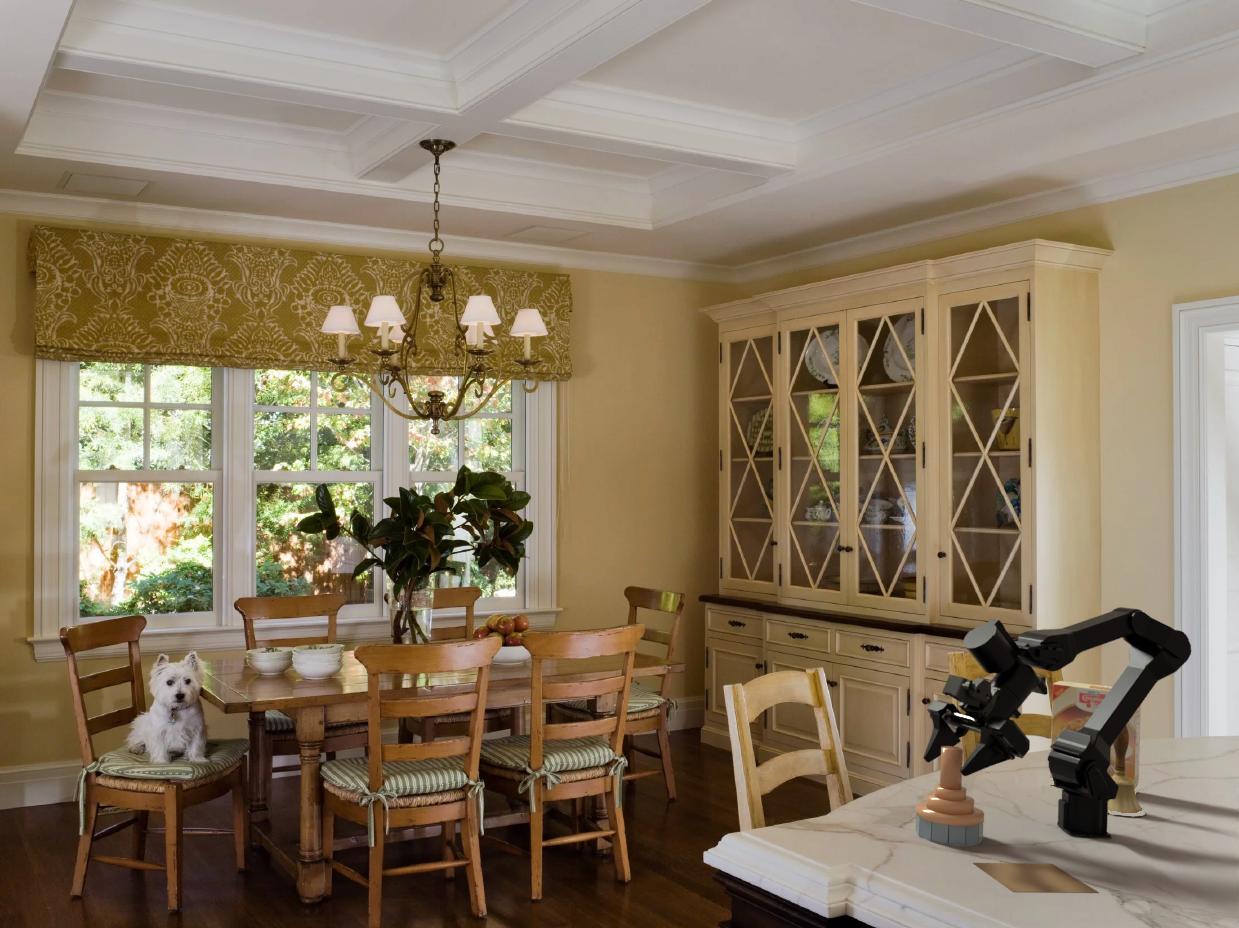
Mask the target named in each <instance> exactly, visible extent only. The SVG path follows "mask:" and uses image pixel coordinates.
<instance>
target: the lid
mask: <svg viewBox="0 0 1239 928" xmlns="http://www.w3.org/2000/svg"><path fill="white" fill-rule="evenodd" d="M963 752H964V749H963V748H961V747H957V746H942V747H941V755H940V771H939V772H940V775H939V776H940V778H939V783H937V784H935V785H934V791H931V792H928V793H927V794H926V801H925V800H924V801H920V802H918V803H917V804H916V806H915V807H916V808H915V814H916V815H917V816H918V817H920V818H922V819H924V820H927V821H930V822H934V823H938V824H944V825H951V826H977V825H981V824H983V825H984V823H985V812H984V811H983V810H982V809H980V808H977V807H975V799H974V798H973V797H972V796H969V795H967V788H966V787H964V786H963V782H962V781H963V775H962V774H961V772H960V770H961V769H962V767H963V758H964V757H963V754H964V753H963ZM916 815H915V816H916Z"/></svg>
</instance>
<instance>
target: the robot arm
mask: <svg viewBox="0 0 1239 928" xmlns="http://www.w3.org/2000/svg"><path fill="white" fill-rule="evenodd" d="M1119 639H1123V641H1125V642H1126V643H1127V644H1129V649H1128V664H1127V666H1126V668H1125V669H1124V670H1123V672H1122V673H1121V675H1120V676H1119V677H1118V678H1117V680H1116V682H1114V684H1113V686H1111V687H1112V688H1111V690H1110V691H1109V692H1108V694H1107V695H1106V697H1105V698H1104V699H1103V701H1102V702H1101V703H1100V705H1099V706H1098V708H1097V709H1096V710H1095V712H1094V713H1093V714H1092V716H1091V717H1090V719H1089V720H1088V721H1087V723H1086V724H1085V725H1084V727H1083V728H1082V729H1080V730H1078V731H1076V732H1075V731H1072V730H1068V729H1064V730H1063V731H1062V732H1061V734H1060V736H1059V738H1058V739H1057V741H1056V742H1055V743H1054V744H1052V745H1051V744H1050V747H1049V748H1050V752H1049V754H1048V756H1047V761H1048V768H1049V773H1050V772H1051V774H1052V777H1053V781H1054V785H1055V786H1054V787H1055V788H1057V789H1060V790H1061V798H1059V799H1058V801H1057V802H1058V804H1057V805H1058V806H1057V807H1058V808H1057V822H1056V825H1057V826H1058V827H1059V828H1060V829H1061V830H1063V831H1064V832H1066V833H1067V834H1069V835H1070V836H1074V837H1075V836H1076V837H1077V836H1078V837H1088V838H1089V837H1092V838H1093V837H1094V838H1104V839H1105V838H1107V839H1111V838H1112V834H1111V833H1110V832H1108V815H1109V814H1108V801H1109V800H1110V799H1115V798H1116V795H1117V792H1118V789H1119V786H1118V785H1117V784H1116V782H1115V781H1114V780H1113V779H1112V777H1111V776H1110V775H1109V774H1108V772H1107V770H1108V768H1109V766H1110V753H1111V746H1112V744H1113V743H1114V741H1115V740H1116V739H1117V737H1118V736H1119V734H1120V733H1121V732H1122V730H1123V729H1124V727H1125V726H1126V725H1127V723H1128V722H1129V720H1130V719H1131V718H1132V716H1133V715H1134V713H1135V712H1136V711H1137V709H1138V708H1139V706H1140V705H1142V703H1143V702H1144V701H1145V699H1146V698H1147V697H1148V695H1149V694H1150V692H1151V691H1152V689H1153V688H1154V687H1155V685H1156V684H1157V683H1158V682H1159V681H1161V680H1163V679H1165V678H1167V677H1168V676H1171V675H1173V674H1175V673H1177V672H1178V670H1179V669H1180V668H1182V667H1183V665H1185V663H1186V662H1187V661H1188V660H1189V659H1190V657H1191V654H1192V644H1191V642H1190V639H1189V637H1188V636H1187V634H1186V633H1185V632H1184V631H1182V630H1178V629H1174V628H1173V627H1171V626H1169V625H1167V624H1165V623H1163V622H1162V621H1159V620H1157V619H1155V618H1153V617H1151V616H1150V615H1149V614H1147V613H1146V612H1144V611H1142V610H1141V609H1138V608H1130V607H1124V606H1123V607H1122V606H1121V607H1117V608H1114V609H1112V610H1111V611H1108V612H1106V613H1104V614H1100V615H1098V616H1095V617H1091V618H1089V619H1085V620H1083V621H1080V622H1077V623H1074V624H1071V625H1069V626H1065V627H1062V628H1053V629H1052V628H1049V629H1047V628H1043V629H1035V630H1034V629H1033V630H1027V631H1024V632H1022V633H1021V634H1019V635H1018V636H1017V638H1013V637H1012V636H1011V635H1010V633H1009V632H1008V631H1007V630H1006V627H1005V625H1004V624H1003V623H1002V621H1001V620H999V619H993V618H990V619H989V620H988V621H987V622H986V623H984V624H981V625H979V626H976V627H975V628H973V629H972V630H969V631H968V632H967V633H966V635H965V637H964V638H963V641H962V642H963V646H964V647H965V649H966V650H967V651H968V653H970V655H971V656H972V657H973V659H975V661H976V662H977V663H978V665H979V666H980V667H981V669H982V670H983V672H985V673H986V674H995V675H994V676H993V677H992V679H991V680H990V681H989V680H987V679H985V678H981V677H976V678H974V680H972V679H968V678H965V677H962V676H958V675H955V674H949V675H948V677H947V680H946V682H945V684H944V687H943V689H942V692H941V693H942V694H943V695H945V696H948V697H951V698H952V699H955V700H956V701H958V702H959V703H958V706H959V708H960V709H961V710H962V711H964V715H963V713H962V712H961V711H960V709H958V707H957V706H956V705H955V704H954V703H952V702H949V701H944V700H942V699H940V700H939V699H938V700H937V699H936V700H933V701H932V702H931V703H930V705H928V707H927V711H928V713H929V718H930V719H931V720H932V725H933V727H932V732H931V736H930V738H929V741H928V743H927V747H926V749H925V752H924V755H923V759H924V761H925V762H926V763H931V762H932V761H934V760H936V759H937V758H939V757H941V747H942V746H953V747H956V745H958V744H959V743H961V742H962V740H961V738H963V737H965V736H966V735H968V732H969V731H970V732H974V733H978V734H979V735H980V736H979V742H978V744H977V745H976V747H975V748H974V749H973V750H972V752H971V753H970V755H969V757H968V758H967V759H966V760H965V762H964V763H963V764H962V769H961V770H960V772H961V774H962V777H968V776H970V775H973V774H975V773H978V772H980V771H982V770H985V769H987V768H990V767H992V766H995V765H997V764H1000V763H1004V762H1007V761H1010V760H1011V761H1014V760H1015V759H1016V758H1018V759H1023V758H1024V757H1025V756H1026V755H1027V753H1028V752H1029V751H1030V749H1031V748H1030V746H1031V741H1030V739H1029V738H1028V737H1027V735H1026V734H1025V733H1024V731H1023V730H1022V729H1021V728H1020V727H1019V725H1018V724H1017V723H1016V722H1015V720H1018V719H1019V718H1020V717H1021V715H1022V714H1021V712H1020V710H1019V708H1020V707H1021V706H1022V705H1023V703H1025V701H1026V700H1027V699H1028V697H1029V696H1030V695H1031V694H1032V693H1035V694H1040V695H1044V696H1046V695H1048V686H1047V682H1046V681H1047V677H1045V676H1040V675H1038V674H1037V672H1036V671H1035V670H1034V669H1037V670H1038V669H1039V670H1042V671H1043V670H1044V671H1047V672H1058V671H1059V670H1061V669H1063V668H1064V667H1065V668H1066V666H1068V665H1070V664H1071V663H1073V662H1074V660H1075V659H1076V657H1077V656H1078V655H1080V654H1081V653H1083V652H1086V651H1090V650H1092V649H1094V648H1097V647H1099V646H1102V645H1103V646H1104V645H1106V644H1108V643H1111V642H1114V641H1116V640H1119ZM1011 718H1013V719H1015V720H1013V719H1011ZM1051 748H1053V749H1052V750H1051Z"/></svg>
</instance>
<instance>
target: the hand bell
mask: <svg viewBox="0 0 1239 928" xmlns="http://www.w3.org/2000/svg"><path fill="white" fill-rule="evenodd" d="M1128 744H1129V733H1128V729H1127V726H1125V727H1124V729H1123V730H1122V732H1121V733H1120V734H1119V736H1118V737H1117V739H1116V740H1115V741H1114V743H1113V745H1114V749H1115V754H1116V760H1115V766H1116V767H1115V774H1114V776H1112V779H1113V780H1114V781H1115V782H1116V784H1117V785H1118V786H1119V789H1118V792H1117V795H1116V798H1115V799H1110V800H1109V801H1108V810H1110V811H1117V812H1121V813H1137V812H1139V811H1142V809H1143V807H1141V805H1140V803H1139V801H1138V799H1137V796H1136V795H1135V791H1134V783H1133V782H1132V781H1131V780H1129V779H1128V778H1127V777H1126V776H1125V755H1126V751H1127V749H1128Z"/></svg>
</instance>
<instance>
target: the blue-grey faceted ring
mask: <svg viewBox="0 0 1239 928" xmlns="http://www.w3.org/2000/svg"><path fill="white" fill-rule="evenodd" d="M915 833H916V835H917V836H918V837H919V838H921V839H923V840H926V841H928V842H931V843H935V844H939V845H946V846H953V847H971V846H977V845H980V844H981V843H982V842H983V839H984V823H983V824H981V825H977V826H951V825H944V824H938V823H934V822H930V821H927V820H924V819H922V818H920V817H918V816H917V815H915Z"/></svg>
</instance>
